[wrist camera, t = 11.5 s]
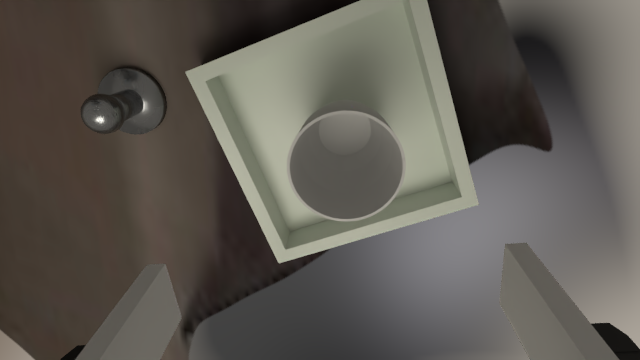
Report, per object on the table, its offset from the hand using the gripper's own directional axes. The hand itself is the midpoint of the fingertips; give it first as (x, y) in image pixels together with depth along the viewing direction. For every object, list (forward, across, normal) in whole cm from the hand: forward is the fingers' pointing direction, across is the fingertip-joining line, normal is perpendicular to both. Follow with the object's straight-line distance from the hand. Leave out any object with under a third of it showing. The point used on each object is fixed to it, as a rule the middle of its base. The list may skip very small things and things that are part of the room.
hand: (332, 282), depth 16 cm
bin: (+23, 0, 0) cm, 23 cm away
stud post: (+23, -19, +4) cm, 30 cm away
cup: (+23, +1, 0) cm, 23 cm away
